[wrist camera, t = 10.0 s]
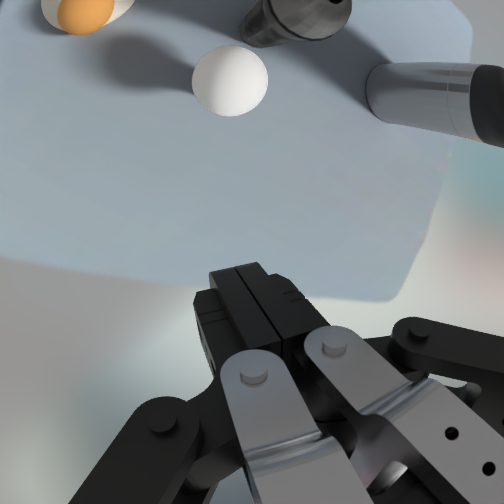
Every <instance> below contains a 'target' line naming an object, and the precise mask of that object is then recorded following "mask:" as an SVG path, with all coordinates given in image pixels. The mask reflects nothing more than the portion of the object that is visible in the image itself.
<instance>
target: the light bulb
mask: <svg viewBox="0 0 504 504" xmlns="http://www.w3.org/2000/svg"><path fill="white" fill-rule="evenodd" d="M267 86H268V75H267V71H266V68H265V66H264V64H263V62H262V61H261V59H260V58H259V57H258V56H257V55H256V54H254V53H253V52H251V51H250V50H248V49H245V48H242V47H239V46H222V47H219V48H216V49H214V50H212V51H210V52H208V53H207V54H205V55H204V56H203V57H202V58H201V59H200V60H199V62H198V63H197V65H196V67H195V69H194V72H193V75H192V88H193V92H194V94H195V97H196V98H197V100H198V102H199V103H200V104H201V105H202V106H203V107H204V108H206V109H207V110H209V111H210V112H213V113H215V114H217V115H222V116H236V115H241V114H243V113H246V112H248V111H250V110H252V109H253V108H254V107H256V106H257V105H258V104H259V102H260V101H261V100H262V98H263V97H264V95H265V93H266V90H267Z"/></svg>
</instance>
